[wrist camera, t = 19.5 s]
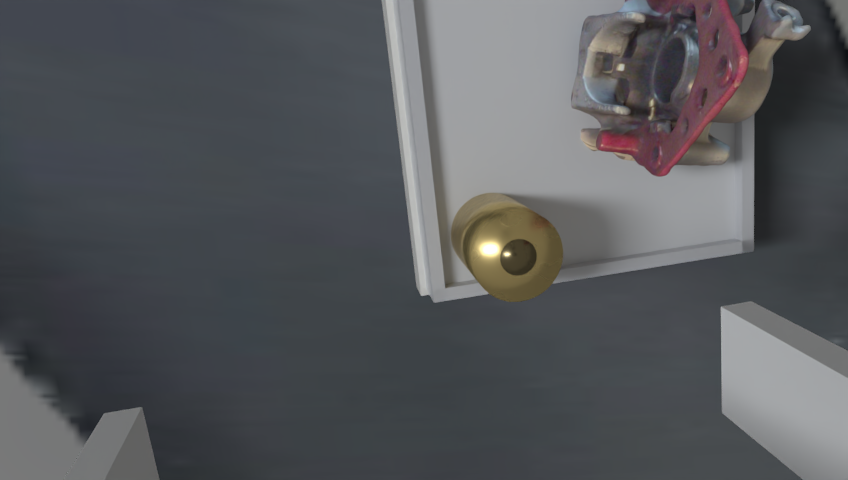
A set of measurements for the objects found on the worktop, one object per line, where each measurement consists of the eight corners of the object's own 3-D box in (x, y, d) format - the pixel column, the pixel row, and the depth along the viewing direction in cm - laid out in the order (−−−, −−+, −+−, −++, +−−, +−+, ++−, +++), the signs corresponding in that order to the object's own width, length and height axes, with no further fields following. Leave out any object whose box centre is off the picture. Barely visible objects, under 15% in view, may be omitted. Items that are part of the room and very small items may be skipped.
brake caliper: (557, -53, 37) (798, -67, 29) (649, -15, 45) (858, -17, 37) (526, 159, 39) (741, 199, 32) (619, 159, 47) (809, 192, 39)
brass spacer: (455, 277, 43) (477, 308, 37) (446, 198, 42) (468, 218, 36) (532, 265, 44) (566, 294, 38) (526, 187, 42) (560, 205, 36)
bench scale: (365, -133, 41) (380, -190, 32) (714, -161, 43) (814, -221, 35) (416, 287, 47) (440, 334, 38) (717, 239, 50) (803, 273, 41)
